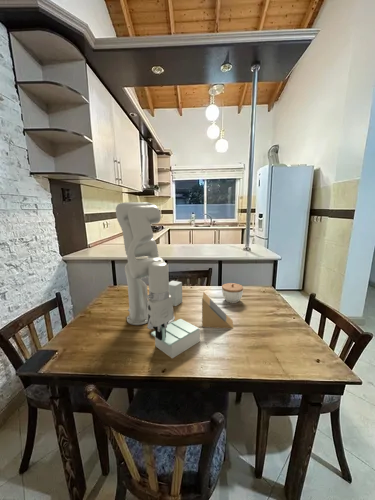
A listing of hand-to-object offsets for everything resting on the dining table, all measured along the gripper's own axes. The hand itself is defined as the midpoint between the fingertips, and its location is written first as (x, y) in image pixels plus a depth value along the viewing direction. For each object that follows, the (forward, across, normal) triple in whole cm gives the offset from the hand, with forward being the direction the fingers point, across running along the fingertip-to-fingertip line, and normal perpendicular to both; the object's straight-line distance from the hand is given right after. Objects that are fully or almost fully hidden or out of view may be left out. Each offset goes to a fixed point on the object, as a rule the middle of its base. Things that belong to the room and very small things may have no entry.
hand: (160, 337), depth 92 cm
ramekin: (+7, +13, +15) cm, 21 cm away
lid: (+1, +8, 0) cm, 8 cm away
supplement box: (+7, +35, +32) cm, 48 cm away
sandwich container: (+8, +34, -2) cm, 35 cm away
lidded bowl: (+7, +62, +8) cm, 63 cm away
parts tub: (+7, +9, 0) cm, 12 cm away
